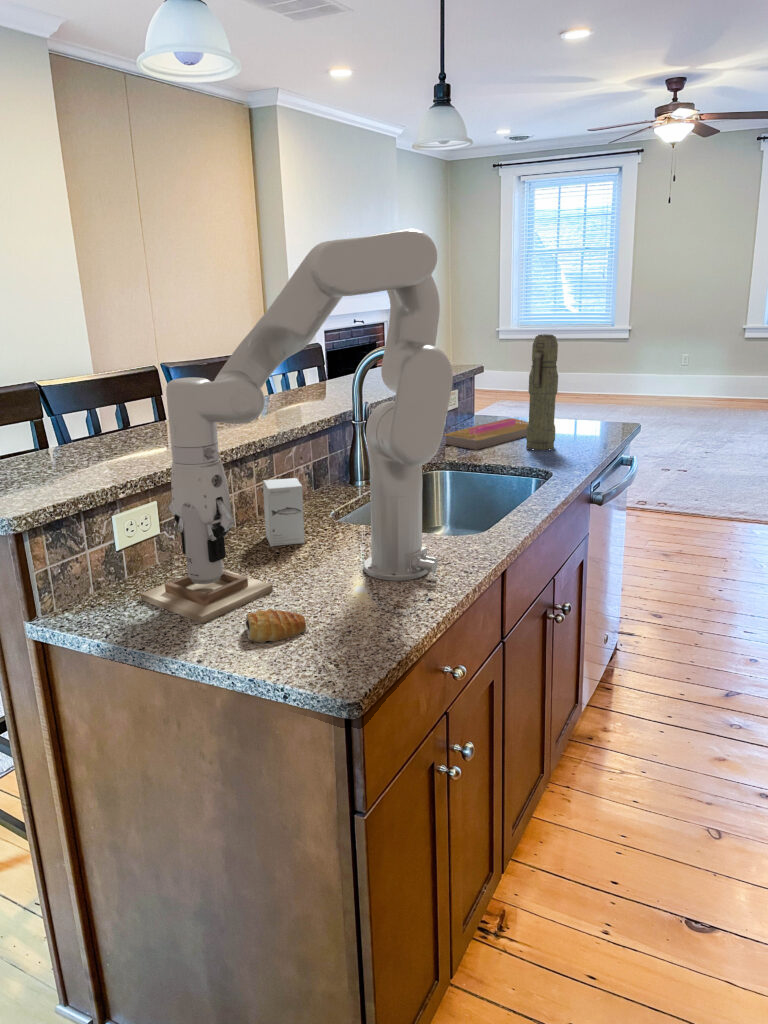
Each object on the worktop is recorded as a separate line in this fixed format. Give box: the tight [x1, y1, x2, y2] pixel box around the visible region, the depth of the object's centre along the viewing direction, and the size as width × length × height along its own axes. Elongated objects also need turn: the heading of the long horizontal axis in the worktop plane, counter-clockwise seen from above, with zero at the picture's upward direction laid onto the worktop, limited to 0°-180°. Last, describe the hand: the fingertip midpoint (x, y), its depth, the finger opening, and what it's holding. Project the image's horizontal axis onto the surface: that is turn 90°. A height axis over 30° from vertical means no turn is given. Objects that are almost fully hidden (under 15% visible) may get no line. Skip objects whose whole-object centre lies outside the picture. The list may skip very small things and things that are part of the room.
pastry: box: [245, 608, 307, 644], centre depth 119 cm, size 9×7×4 cm
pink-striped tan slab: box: [443, 417, 529, 451], centre depth 254 cm, size 35×14×6 cm, turn 135°
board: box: [139, 568, 274, 624], centre depth 133 cm, size 16×16×3 cm
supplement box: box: [262, 477, 306, 548], centre depth 159 cm, size 7×7×13 cm
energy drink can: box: [181, 502, 224, 584], centre depth 130 cm, size 6×6×15 cm
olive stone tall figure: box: [525, 333, 559, 451], centre depth 236 cm, size 9×12×35 cm
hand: (204, 555), depth 131 cm, fingers closed on energy drink can, 6 cm apart
